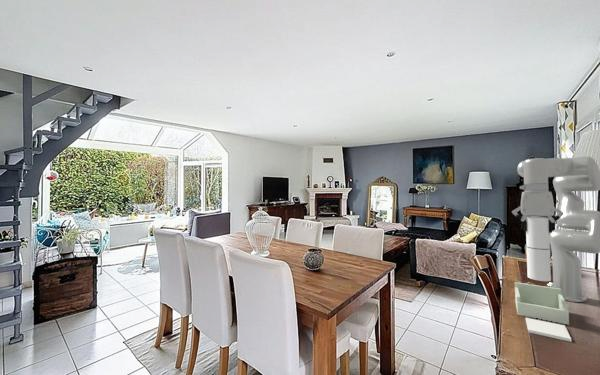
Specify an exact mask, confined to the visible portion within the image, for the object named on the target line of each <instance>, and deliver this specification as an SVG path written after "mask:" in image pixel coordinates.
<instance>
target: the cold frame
mask: <svg viewBox="0 0 600 375" xmlns="http://www.w3.org/2000/svg"><path fill="white" fill-rule="evenodd" d="M514 293H515V294H514V296H515V297H514V298H515V308H516V313H517V315H518V316H521V317H525V318H530V319H536V318H538V319H537V320H541V319H542V320H541V321H546V320H547V321H546V322H551V321H552V322H551V323H556V322H557V323H556V324H560V325H566V324H567V325H568V326H570V313H569V312H570V311H569V305H568V303H567V302H566V300H564V298H563V297H562V295H561V289H559V288H552V287H548V286H545V285H538V284H537V285H536V284H534V285H531V284H524V282H523V283H522V282H515V281H514Z"/></svg>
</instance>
